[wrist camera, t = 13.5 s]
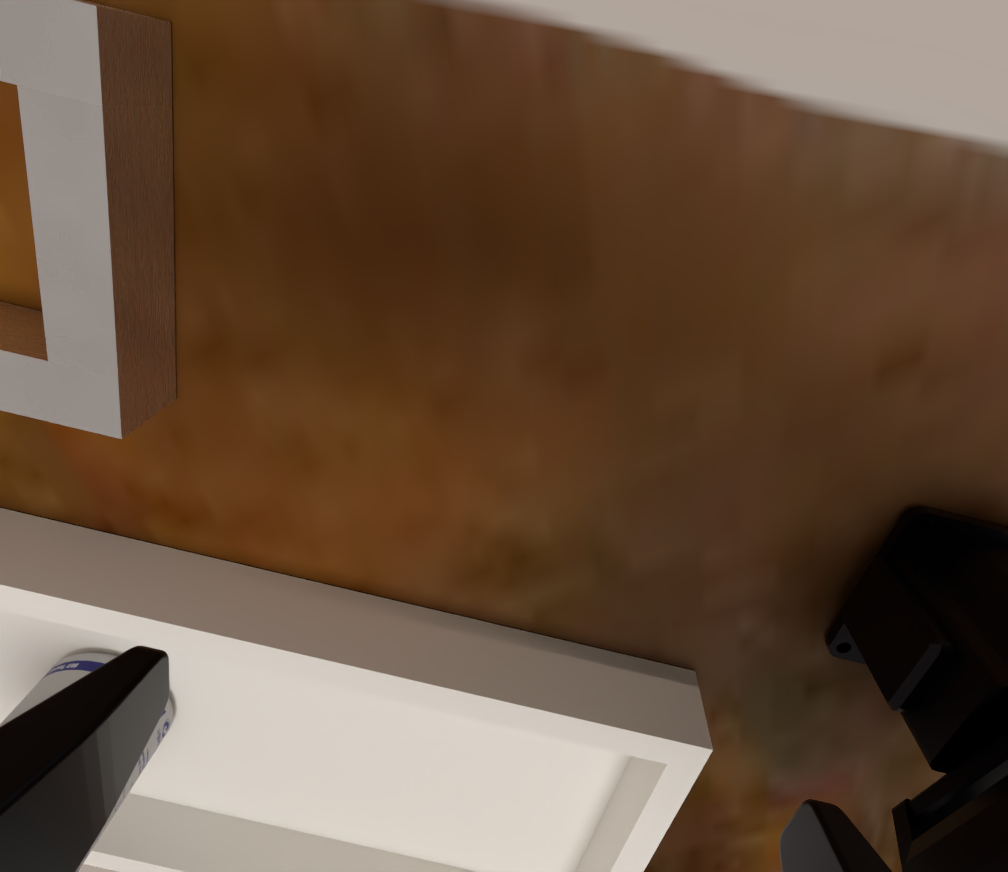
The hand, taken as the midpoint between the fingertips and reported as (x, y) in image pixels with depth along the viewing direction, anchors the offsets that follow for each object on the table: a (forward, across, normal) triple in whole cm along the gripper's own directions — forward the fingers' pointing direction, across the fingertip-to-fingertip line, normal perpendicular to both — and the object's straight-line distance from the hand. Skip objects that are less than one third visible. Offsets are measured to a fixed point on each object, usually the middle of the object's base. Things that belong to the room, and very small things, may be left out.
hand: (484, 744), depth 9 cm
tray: (+13, +6, +18) cm, 23 cm away
